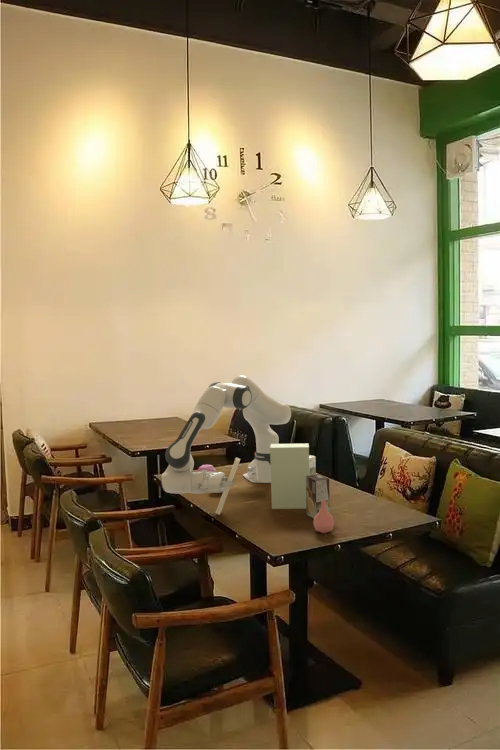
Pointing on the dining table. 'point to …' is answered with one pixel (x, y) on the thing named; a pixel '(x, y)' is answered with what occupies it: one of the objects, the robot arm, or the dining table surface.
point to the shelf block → (289, 475)
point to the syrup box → (312, 465)
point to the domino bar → (228, 486)
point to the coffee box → (316, 494)
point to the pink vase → (323, 520)
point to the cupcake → (207, 468)
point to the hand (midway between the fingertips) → (233, 481)
